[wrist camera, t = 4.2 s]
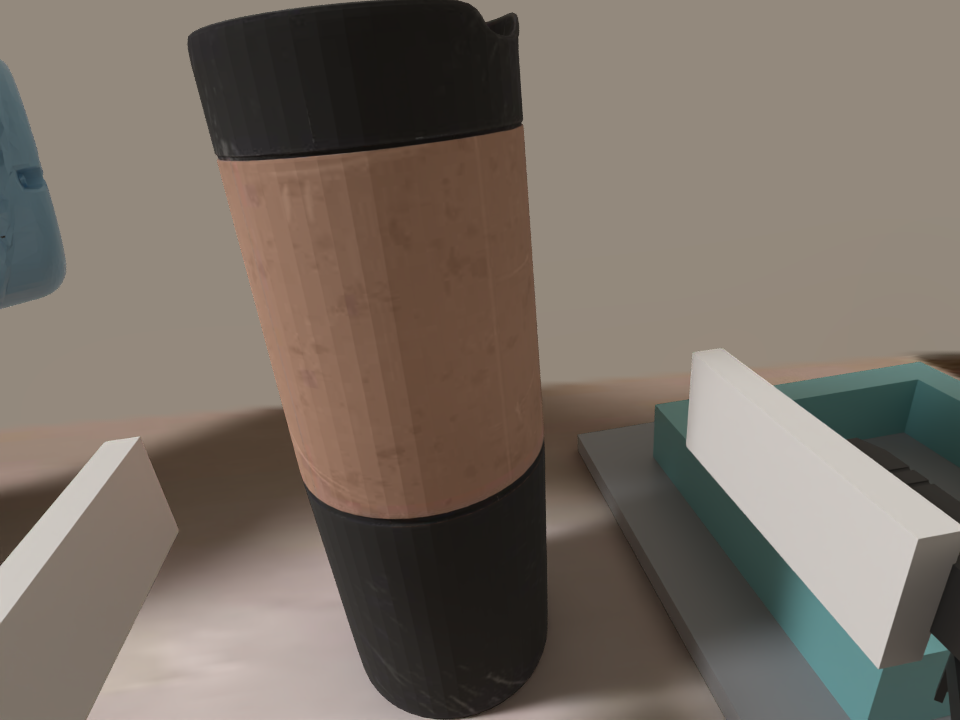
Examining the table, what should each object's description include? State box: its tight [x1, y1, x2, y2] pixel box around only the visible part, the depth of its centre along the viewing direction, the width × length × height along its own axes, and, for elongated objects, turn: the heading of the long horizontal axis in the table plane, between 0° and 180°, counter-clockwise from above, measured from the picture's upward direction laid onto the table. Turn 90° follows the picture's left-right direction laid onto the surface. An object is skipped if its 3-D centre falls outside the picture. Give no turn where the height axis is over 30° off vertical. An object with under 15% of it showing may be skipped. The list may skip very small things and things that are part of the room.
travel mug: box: [188, 0, 547, 719], centre depth 17 cm, size 8×8×20 cm
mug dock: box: [577, 362, 960, 720], centre depth 23 cm, size 20×20×4 cm
